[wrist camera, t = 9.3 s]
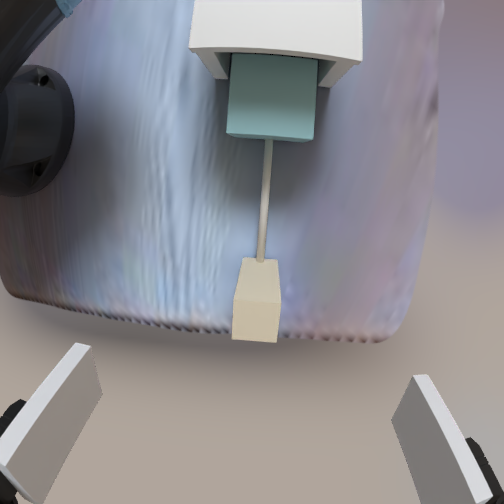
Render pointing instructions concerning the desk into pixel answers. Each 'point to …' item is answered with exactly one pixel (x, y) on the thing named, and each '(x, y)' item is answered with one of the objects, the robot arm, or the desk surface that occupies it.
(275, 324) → the tethered block
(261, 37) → the white open box
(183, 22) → the desk surface
